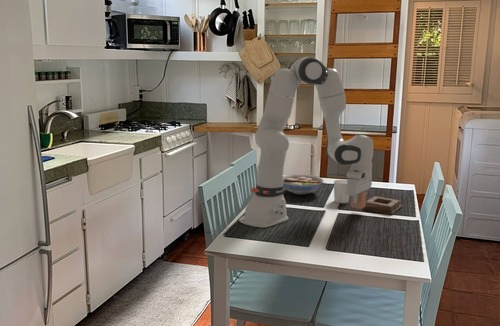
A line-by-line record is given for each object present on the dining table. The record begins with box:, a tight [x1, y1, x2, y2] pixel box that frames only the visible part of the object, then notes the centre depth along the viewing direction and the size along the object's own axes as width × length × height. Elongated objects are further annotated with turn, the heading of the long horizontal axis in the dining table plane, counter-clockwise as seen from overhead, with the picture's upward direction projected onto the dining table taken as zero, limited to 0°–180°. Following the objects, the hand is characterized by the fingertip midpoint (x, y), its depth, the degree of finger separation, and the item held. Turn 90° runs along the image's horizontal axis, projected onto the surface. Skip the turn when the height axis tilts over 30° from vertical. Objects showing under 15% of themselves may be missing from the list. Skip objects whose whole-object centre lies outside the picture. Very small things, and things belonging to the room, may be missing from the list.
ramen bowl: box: [283, 173, 325, 196], centre depth 244 cm, size 25×23×8 cm
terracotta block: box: [350, 190, 368, 210], centre depth 212 cm, size 5×5×7 cm
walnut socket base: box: [362, 195, 403, 216], centre depth 221 cm, size 14×14×4 cm
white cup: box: [333, 179, 350, 204], centre depth 230 cm, size 8×8×10 cm
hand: (358, 201), depth 212 cm, fingers closed on terracotta block, 5 cm apart
